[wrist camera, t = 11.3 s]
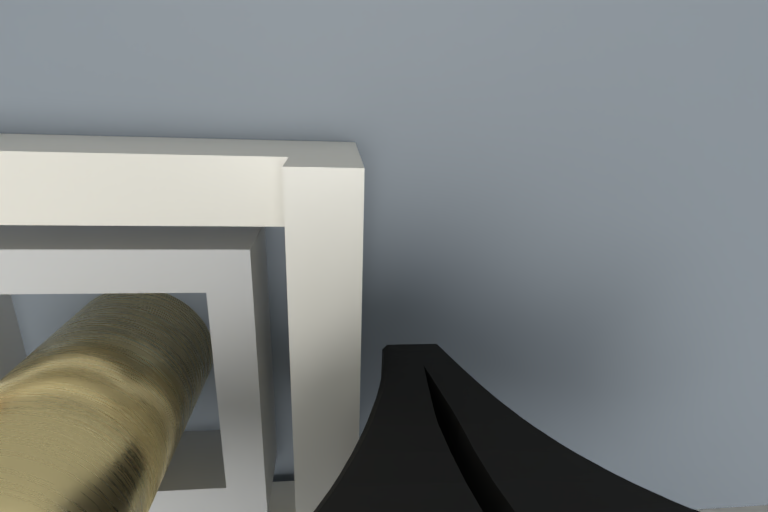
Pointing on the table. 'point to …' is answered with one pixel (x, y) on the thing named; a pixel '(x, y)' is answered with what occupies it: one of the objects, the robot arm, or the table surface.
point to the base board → (440, 214)
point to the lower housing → (232, 208)
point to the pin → (102, 406)
